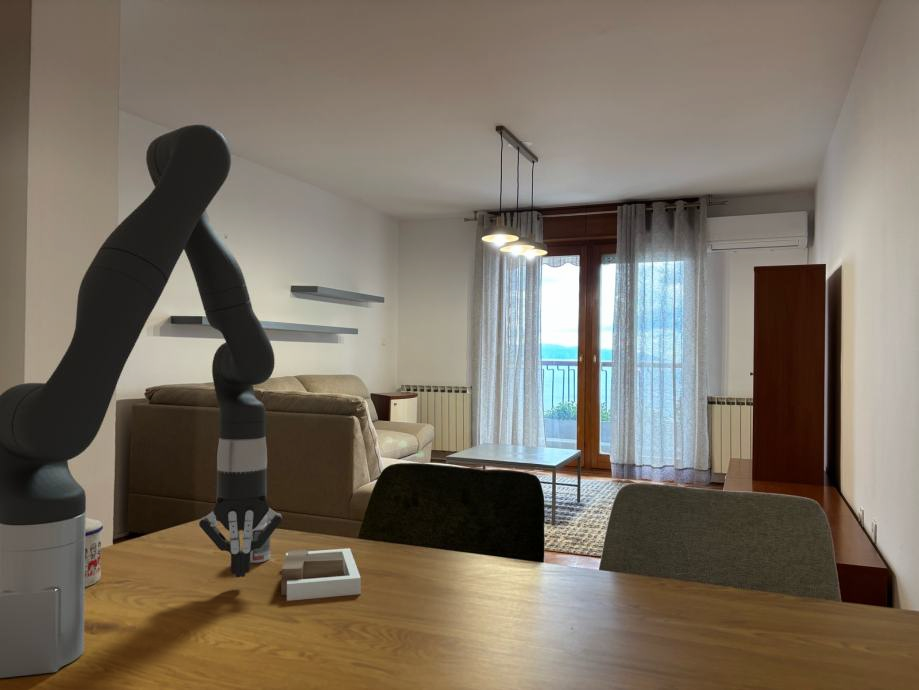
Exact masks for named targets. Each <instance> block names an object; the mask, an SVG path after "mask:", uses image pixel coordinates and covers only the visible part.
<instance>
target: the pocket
mask: <svg viewBox="0 0 919 690" xmlns="http://www.w3.org/2000/svg"><path fill="white" fill-rule="evenodd" d="M288 553H289V552H285V559H286V558H287V555H288ZM342 554H343V576H338V577H326V578H314V579H301V580H289V581H287V595H286V602H289V601H299V600H310V599H321V598H322V599H323V598H333V597H334V598H335V597H342V596H343V597H344V596H345V597H346V596H354V595H361V592H362V588H361V586H362V585H361V584H362V583H361V582H362V579H361V575H360V571H359V569H358V567H357V564H356V561H355V559H354V558H355V557H354V556H353V553H352V551H351V548H349V547H347V548H338V549H337V548H336V549H335V548H334V549H323V550H308V556H311V555H342Z"/></svg>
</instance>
